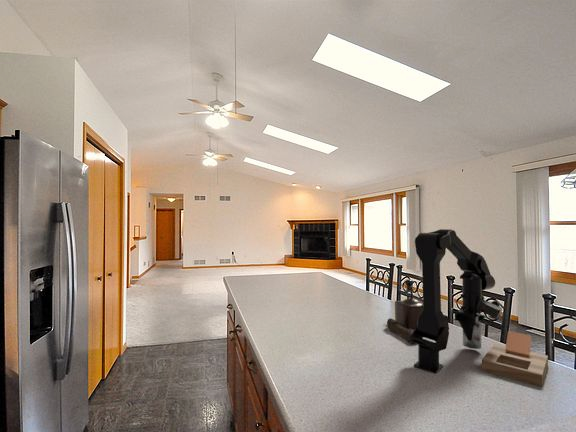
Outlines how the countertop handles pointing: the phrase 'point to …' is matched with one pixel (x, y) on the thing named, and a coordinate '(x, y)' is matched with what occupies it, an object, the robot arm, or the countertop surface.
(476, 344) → the peg
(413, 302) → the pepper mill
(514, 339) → the pink flat plate
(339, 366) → the countertop surface
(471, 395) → the countertop surface
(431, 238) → the robot arm
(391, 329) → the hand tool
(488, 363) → the hole plate
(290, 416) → the countertop surface
